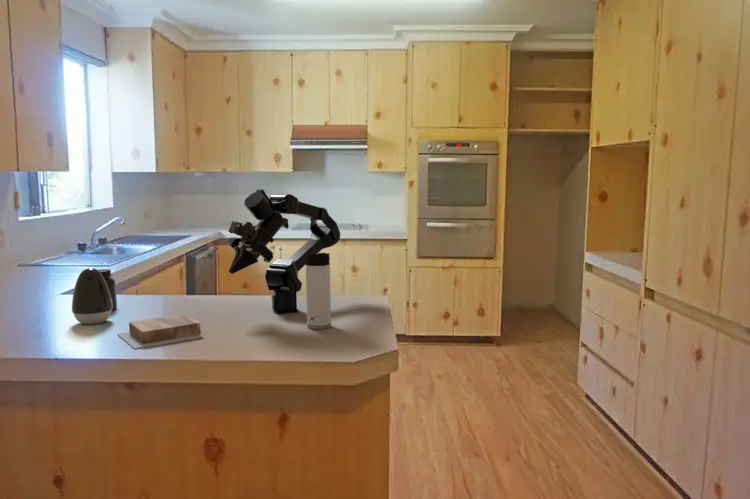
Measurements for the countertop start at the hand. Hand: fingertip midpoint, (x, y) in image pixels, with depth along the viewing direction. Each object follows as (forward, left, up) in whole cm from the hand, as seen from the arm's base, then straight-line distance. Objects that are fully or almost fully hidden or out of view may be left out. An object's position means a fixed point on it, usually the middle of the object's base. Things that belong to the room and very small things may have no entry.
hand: (230, 272), depth 160 cm
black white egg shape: (+36, -14, -14) cm, 41 cm away
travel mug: (-20, +16, -14) cm, 29 cm away
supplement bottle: (+34, -31, -14) cm, 48 cm away
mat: (+19, +8, -14) cm, 25 cm away
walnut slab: (+11, +6, -12) cm, 17 cm away
